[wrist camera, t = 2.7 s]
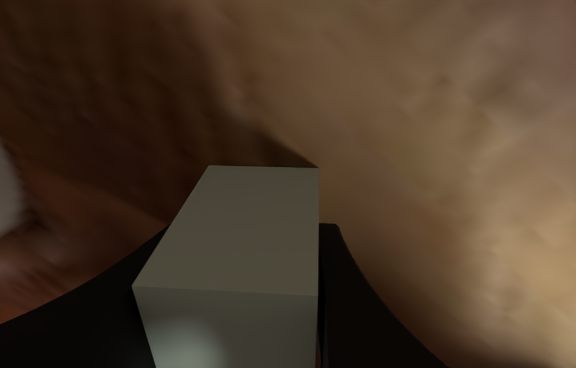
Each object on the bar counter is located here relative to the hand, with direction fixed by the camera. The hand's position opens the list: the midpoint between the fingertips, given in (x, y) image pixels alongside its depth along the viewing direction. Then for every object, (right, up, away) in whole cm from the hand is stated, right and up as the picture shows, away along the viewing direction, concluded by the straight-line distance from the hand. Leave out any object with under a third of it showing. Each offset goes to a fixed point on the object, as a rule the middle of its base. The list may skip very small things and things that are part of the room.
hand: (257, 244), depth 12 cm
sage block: (0, +1, +2) cm, 2 cm away
